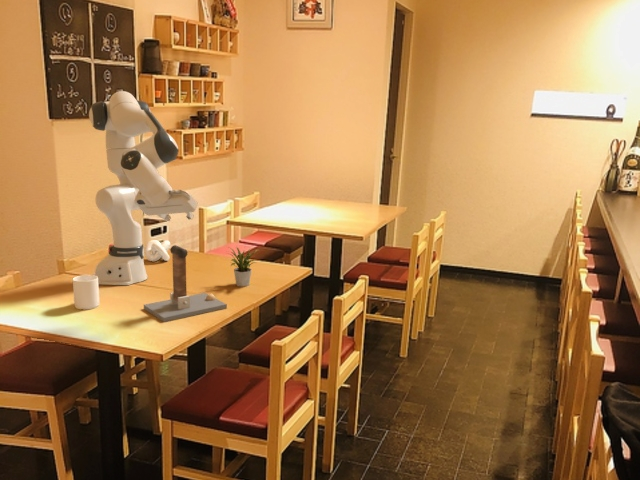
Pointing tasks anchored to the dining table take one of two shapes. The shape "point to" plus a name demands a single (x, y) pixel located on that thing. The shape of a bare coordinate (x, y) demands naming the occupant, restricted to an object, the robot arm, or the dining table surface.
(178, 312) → the press base
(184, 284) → the lever
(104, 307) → the dining table surface
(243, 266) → the house plant
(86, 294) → the mug
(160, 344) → the dining table surface
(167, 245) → the white knot sculpture
